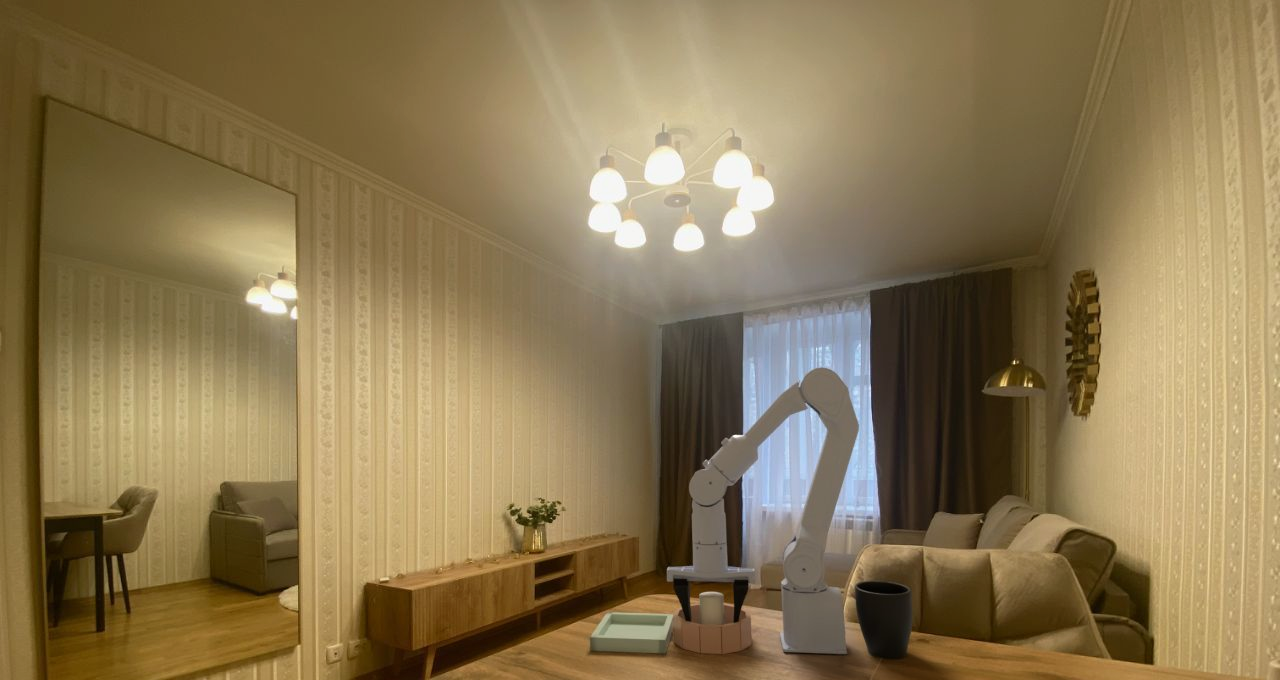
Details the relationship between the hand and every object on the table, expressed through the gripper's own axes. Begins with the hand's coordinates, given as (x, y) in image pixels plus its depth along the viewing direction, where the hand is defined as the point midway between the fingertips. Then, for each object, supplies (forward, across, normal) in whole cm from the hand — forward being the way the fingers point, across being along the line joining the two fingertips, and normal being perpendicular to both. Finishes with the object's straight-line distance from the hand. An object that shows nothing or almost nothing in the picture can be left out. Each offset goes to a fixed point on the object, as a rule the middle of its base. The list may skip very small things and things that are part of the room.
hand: (712, 627), depth 100 cm
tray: (+2, +13, 0) cm, 13 cm away
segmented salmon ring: (+2, 0, 0) cm, 2 cm away
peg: (+2, 0, 0) cm, 2 cm away
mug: (+2, -27, +1) cm, 27 cm away
